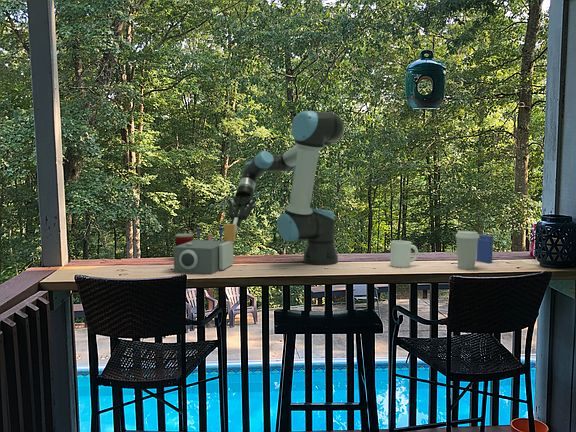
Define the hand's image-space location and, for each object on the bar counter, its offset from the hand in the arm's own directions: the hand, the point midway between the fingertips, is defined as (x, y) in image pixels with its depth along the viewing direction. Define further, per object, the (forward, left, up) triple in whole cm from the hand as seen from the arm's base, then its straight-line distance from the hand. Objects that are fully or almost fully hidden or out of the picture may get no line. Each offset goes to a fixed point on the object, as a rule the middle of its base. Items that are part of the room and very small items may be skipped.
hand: (233, 231), depth 240 cm
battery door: (0, +11, -13) cm, 17 cm away
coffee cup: (-97, -15, -14) cm, 99 cm away
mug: (-72, -13, -14) cm, 74 cm away
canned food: (+24, -4, -14) cm, 28 cm away
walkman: (-105, -32, -14) cm, 110 cm away
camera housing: (+8, +14, -14) cm, 22 cm away
